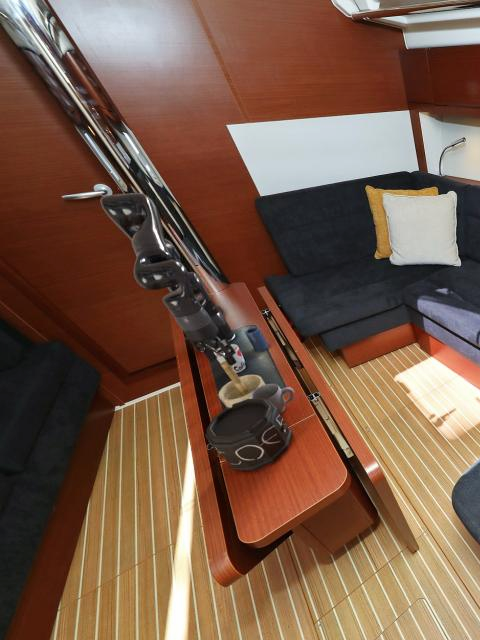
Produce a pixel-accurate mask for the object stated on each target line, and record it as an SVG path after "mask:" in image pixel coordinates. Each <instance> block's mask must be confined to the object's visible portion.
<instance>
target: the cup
mask: <svg viewBox="0 0 480 640" xmlns="http://www.w3.org/2000/svg"><path fill="white" fill-rule="evenodd" d="M230 344H231V346H232V347H233V349H234V350H235V352H236V353H235V354H234V355H233V357H234V358H235V360H236V361H237V362H236V363H235V364H234V365H233V366H232V368H233V369H234V371H235V372H236V374H238V373H240V372H243V371H244V370H245V369H246V361H245V359H244V356H243V354H242V351H241V349H240V348H239V346H238V345H237V344H235V343H233V344H232V343H230ZM220 349H221V348H218V349H217V350H220ZM229 350H230V349H229ZM213 352H214V351H213ZM222 352H223V351H222ZM223 353H224V352H223ZM214 354H215V355H216V356H217V359H216V360H217V361H218V362H219V364H221V363H222V362H224V361H226V360H225V359H224V357H223V356H221V355H220V354H216V353H215V352H214Z"/></svg>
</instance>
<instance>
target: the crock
mask: <svg viewBox="0 0 480 640" xmlns="http://www.w3.org/2000/svg"><path fill="white" fill-rule="evenodd" d="M244 334H245V336H246V338H247V340H248V341H249V342H250V345H251V346H252V348H253V349H254V351H255V352H258V353H260V352H263V351H266V350H267V349H269V347H270V346H269V344H268V342H267V340H266V337H265V336H264V334H263V333H262V331H261V329H260V328H259V326H252V327H248V328H247V329H245V330H244Z"/></svg>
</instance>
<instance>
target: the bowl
mask: <svg viewBox="0 0 480 640" xmlns="http://www.w3.org/2000/svg"><path fill="white" fill-rule="evenodd" d="M238 377H239V378H240V380H241V381H242V382H243V384H244V385H245V387H246V388H247V390H248V391H249V393H250V394H248V395H246V396H242V394H241V393H240V391H239V390H238V389H237V387H236V386H235V384H234V383H233V382H232V380H231V381H229V382H227V383H226V384H224V385H223V386H222V387H221V388H220V390H219V391H218V398H219V399H220V401H221V402H222V403H223V405H224V406H225V408H227V407H232V404H235V403H238V402H241V401H244V400H247V399H250V395H251V393H252V392H253V391H254V390H255V389H257V388H258V387H260V386H263V385H266V384H267V383H265V381H264V379H263V378H262V376H260V375H258V374H245V375H242V376H238Z"/></svg>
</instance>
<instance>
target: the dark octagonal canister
mask: <svg viewBox="0 0 480 640" xmlns="http://www.w3.org/2000/svg"><path fill="white" fill-rule="evenodd" d="M277 411H278V409H277V408H276V407H275V406H274V405H273V404H272V403H271V402H270V401H267V400H264V399H247V400H244V401H241V402H238V403H235V404H232V407H225V408H224V409H223V410H221V411H219V413H217V414H215V416H213V417H212V419H211V421H210V423H209V425H208V427H207V428H206V430H205V431H206V433H205V438H206V439H207V441H208V442H209V444H210V445H211V447H212V448H216V450H217V451H218V453H219V455H220V456H221V457H222V458H223V459H224V460H225V461H226V462H227V463H228V464H229V466H230V467H231V469H232V470H235V471H258V470H260V469H263V468H264V467H267V466H269V465H271V464H274V463H275V462H276V461H278V460H279V458H281V456H283V455H284V454H285V453H286V452H287V451H288V449H289V446H290V443H291V439H292V435H293V431H292V430H291V429H290V428H289V426H288V424H287V423H286V421H285V420H284V418H283V417H282V416H281V414H278V412H277Z"/></svg>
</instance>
